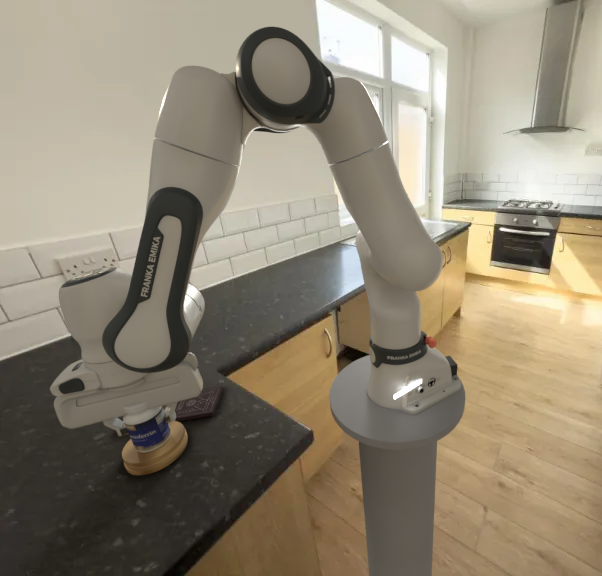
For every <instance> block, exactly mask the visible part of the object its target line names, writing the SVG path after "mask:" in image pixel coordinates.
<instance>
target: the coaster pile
mask: <svg viewBox="0 0 602 576" xmlns="http://www.w3.org/2000/svg"><path fill="white" fill-rule="evenodd" d="M168 424H169V427H170V430H171V436H170V438H169V439H168V441H167V442H166V443H165V444H164V445H162V446H161V447H159V448H157V449H155V450H153V451H150V452H144V453H143V452H138V451H137V450H136V449H135V447H134V445H133V443H132V440H131V438H130V439H129V440H128V441H126V444H125V445H124V446H123V448H122V451H121V458H122V459H123V460H122V461H123V466H124V468H125V470H126V472H127V473H128V474H130V475H132V476H146V475H151V474H153V473H156V472H158V471H161V470H163V469H164V468H166V467H168V466H169V465H171V464H172V463H174V462H175V461H176V460H177V459H178V458H179V457H180V456H181V455H182V454H183V453H184V451H185V449H186V448H187V446H188V441H189V440H188V438H189V436H188V431H187V430H186V428H185V426H184V424H182V423H181V421H180V422H177V421H173V422H170V423H168Z"/></svg>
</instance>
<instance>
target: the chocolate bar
mask: <svg viewBox="0 0 602 576" xmlns="http://www.w3.org/2000/svg"><path fill="white" fill-rule="evenodd" d="M223 391H224V387H223V385H220V386H213V387H207V388H202V391H201V393H200V394H199V396H197V397H194V398H190V399H186V400H182V401H178V402H177V406H176V408H175V413H176V419H175V421H177V422H180V423H181V422H186V421H190V420H196V419H197V420H198V419H203V418H208V417H213V416H214V415H215V412H216V409H217V407H218V405H219V401H220V399H221V397H222V395H223ZM162 407H163V410H164V413H165V411H166V410H170V408H167V405H163V406H162ZM122 421H123V420H122ZM123 422H124V421H123Z"/></svg>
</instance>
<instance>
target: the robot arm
mask: <svg viewBox="0 0 602 576" xmlns="http://www.w3.org/2000/svg"><path fill="white" fill-rule="evenodd" d="M383 124H384V123H383V122H382V119H381V117H380V115H379V112H378V110H377V108H376V106H375V104H374V102H373V100H372V98H371V96H370V94H369V92H368V89H367V88H366V87H365V85H364V84H363V83H362V82H361V81H360V80H358V79H356V78H354V77H351V76H350V77H349V76H337V77H334V74H333V72H332V71H331V70H330V68H329V67H327V65H325V64H324V63H323V62H322V61H321V60H320V59H319V58H318V57H317V56H316V54H315V53H314V52H313V50H312V49H311V48H310V47H309V46H308V44H306V43H305V41H304V40H302V38H300V37H299V36H298V35H297V34H296V33H294V32H292V31H290V30H288V29H285V28H283V27H280V26H265V27H261V28H259V29H256V30H254V31H252V32H251V33H250V34H249V35H248V36H247V37H246V38H245V39H244V40H243V42H242V43H241V45H240V47H239V49H238V51H237V54H236V60H235V71H232V72H230V73H223V72H221V73H220V72H218V71H216V70H214V69H213V68H212V69H211V68H209V67H205V66H201V65H185V66H182V67H180V68H178V69H177V70H176V71H175V72H174V73H173V74H172V77H171V79H170V81H169V83H168V86H167V88H166V91H165V93H164V96H163V98H162V102H161V106H160V109H159V112H158V117H157V119H156V125H155V130H154V135H153V136H154V138H153V142H152V150H151V157H150V167H149V179H148V188H147V189H148V190H147V197H146V205H145V215H144V221H143V225H142V229H141V234H140V237H139V243H138V247H137V250H136V255H135V261H134V266H133V269H132V273H131V272H128V271H126V270H123V268H120V267H116V266H109V267H108V266H106V267H100V268H96V269H92V270H89V271H86V272H83V273H81V274H78V275H76V276H74V277H72V278H70V279H68V280H67V281H65V282H64V283H63V284H62V285H61V287H59V289H58V302H59V306H60V310H61V313H62V316H63V319H64V322H65V325H66V326H67V329H68V331H69V333H70V335H71V338H73V339H74V340H75V341H76V343H78V345H79V347H80V350H81V353H80V355H81V358H80V359H79V360H77V361H74V362H73V363H71V364H69V365H67V366H66V368H64V369H63V370H62V371H61V372H60V374H58V376H57V377H56V378H55V379H54V380H53V382H52V384H51V386H49V391H50V393H51V394H52V395H53V396H54V397H55V398H54V400H53V408H54V411H55V415H56V417H57V419H58V421H59V423H60V425H61V426H62V427H63V428H66V429H69V430H75V429H78V428H83V427H87V426H90V425H93V424H97V423H103V426H105V427H107V428H109V429H112V430H113V431H115V432H116V434H117V436H118V437H123V436H126V435H129V433H128V431H127V429H126V426H125V424H124V422H123V420H121V419H120V417H123V416H124V415H128V414H127V413H125V411H124V409H123V408H124V407H128V406H133V405H137V404H141V403H145V402H147V404H148V409H151V408H155V407H159V406H163V405H167V408H170V410H166V411H165V413H164V416H163V418H164V420H165V423H170V422H173V421H175V419H176V413H175V408H176V406H177V402H178V401H182V400H186V399H190V398H194V397H197V396H199V394H200V393H201V391H202V389H204V380H203V377H202V375H201V372H200V370H199V362H198V359H197V356H196V354H195V353H192V352H189V351H190V348H191V344H192V341H193V338H194V336H195V333H196V332H197V329H198V327H199V325H200V322H202V318H203V316H204V313H205V310H206V300H205V297H204V295H203V294H202V292H201V290H199V288H197V286H195V285H194V284H192V283H190V280H191V276H192V275H191V274H192V271H193V268H194V267H193V266H194V262H195V258H196V255H197V252H198V249H199V247H200V245H201V242H202V241H203V239H204V236H206V234H207V233H208V231H209V230H210V228H211V226H212V225H213V224H214V223H215V222H216V221H217V219H218V218H219V217H220V215H221V214H222V213H223V212H224V210H225V209H226V207H227V205H228V203H229V202H230V199H231V196H232V195H233V192H234V189H235V187H236V183H237V180H238V176H239V173H240V169H241V165H242V159H243V155H244V150H245V147H246V143H247V140H248V139H249V137H250V135H251V134H252V133H253V132H261V133H262V132H264V133H272V134H286V133H290V132H293V131H294V130H297V129H298V128H300V127H301V128H303V129H305V130H308V131H309V132H310V133H311V134H312V135H313V136H314V138H315V139H316V141H317V142H318V144H319V145H320V147H321V149H322V153H323V155H324V157H325V160H326V163H327V165H328V167H329V170H330V172H331V173H330V174H331V175H332V177H333V180H334V183H335V185H336V187H337V189H338V193H339V194H340V197H341V199H342V201H343V204H344V207H345V209H346V211H347V212H348V213H349V214H350V216H351V218H352V220H353V221H354V223H355V224H356V226H357V229H358V231H357V232H356V236H355V249H356V251H357V254H358V258H359V263H360V269H361V273H362V279H363V283H364V288H365V292H366V296H367V297H366V298H367V302H368V309H369V310H368V311H369V328H370V329H369V331H370V333H369V337H368V344H369V345H368V353H369V354H368V355H369V356H370V360H371V370H370V376H369V381H368V384H367V394H368V396H369V398H370V399H371V400H372V401H373V402H374V403H376V404H378V405H379V406H382V407H385V408H388V409H395V410H401V411H403V412H405V413H408V414H411V415H415V414H418V413H419V412H421V411H423V410H425V409H426V408H428V407H430V406H432V405H434V404H435V403H437V402H439V401H441V400H442V399H444V398H446V397H448V396H450V395H451V394H453V393H455V392H457V391H458V390H460V389H461V382H462V381H461V382H460V380H461V378H460V377H459V375H458V364H457V362H456V361H455V360H454V359H453V358H452V356H451V355H444V354H443V352H441V351H440V350H439V349H438V348H436V346H437V344H438V343H437V340H436V339H434V338H433V337H432V336H428V335H427V333H426V332H425V331H423V330H422V304H421V300H420V298H419V295H418V294H417V292H422V291H424V290H427V289H429V288H430V287H431V286H433V285H435V284H434V283H436V281H437V280H438V279H439V278H440V276H441V273H442V271H443V267H444V256H443V252H442V249H441V248H440V246H439V245H438V244H437V242H435V240H434V239H433V238H432V236H430V234H429V232H428V231H427V229H426V227H425V226H424V223H423V222H422V220H421V218H420V216H419V214H418V212H417V210H416V208H415V206H414V205H413V203H412V201H411V198H410V197H409V195H408V193H407V191H406V188H405V186H404V184H403V181H402V179H401V177H400V173H399V169H398V167H397V164H396V161H395V158H394V155H393V152H392V148H391V145H390V141H389V139H388V136H387V133H386V129H385V127H384V125H383ZM459 378H460V379H459Z"/></svg>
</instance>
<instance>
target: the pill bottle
mask: <svg viewBox="0 0 602 576" xmlns="http://www.w3.org/2000/svg"><path fill="white" fill-rule="evenodd" d="M123 409H124V411H125V413H127V414H128V415H124V416H122V421H124V424H125V426H126V429H127V431H128V433H129V434H128V436H129V438H130V439H131V440H132V443H133V445H134V447H135V449H136V450H137V451H138V452H143V453H144V452H150V451H153V450H155V449H157V448H159V447H161V446H162V445H164V444H165V443H166V442H167V441H168V439H169V438H170V436H171V430H170V427H169V424H168V423H165V420H164V418H163V416H164V410H163V407H162V406H159V407H155V408H151V409H148V404H147V402H145V403H141V404H137V405H133V406H128V407H124V408H123Z"/></svg>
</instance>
